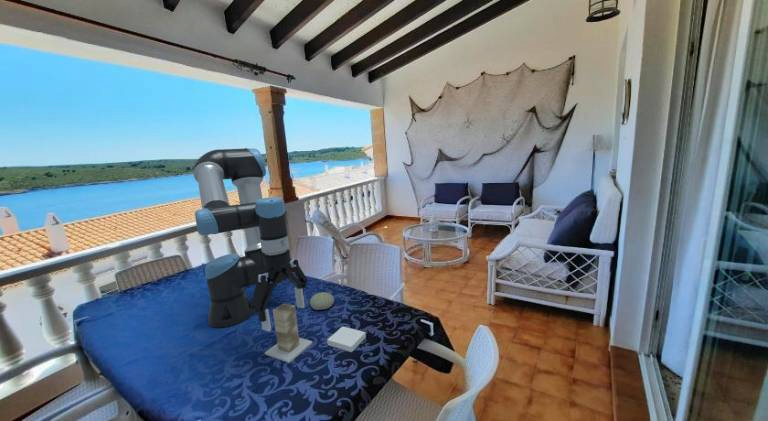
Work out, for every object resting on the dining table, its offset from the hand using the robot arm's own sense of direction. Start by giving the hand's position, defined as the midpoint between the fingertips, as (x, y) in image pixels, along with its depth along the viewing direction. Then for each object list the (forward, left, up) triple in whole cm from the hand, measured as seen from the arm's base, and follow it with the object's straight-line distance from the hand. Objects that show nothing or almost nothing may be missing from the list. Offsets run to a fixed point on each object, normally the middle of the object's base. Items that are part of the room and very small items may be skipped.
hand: (284, 317), depth 90 cm
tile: (+10, +10, -10) cm, 17 cm away
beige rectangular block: (0, 0, -10) cm, 10 cm away
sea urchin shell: (-8, +26, -11) cm, 29 cm away
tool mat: (0, 0, -10) cm, 10 cm away
